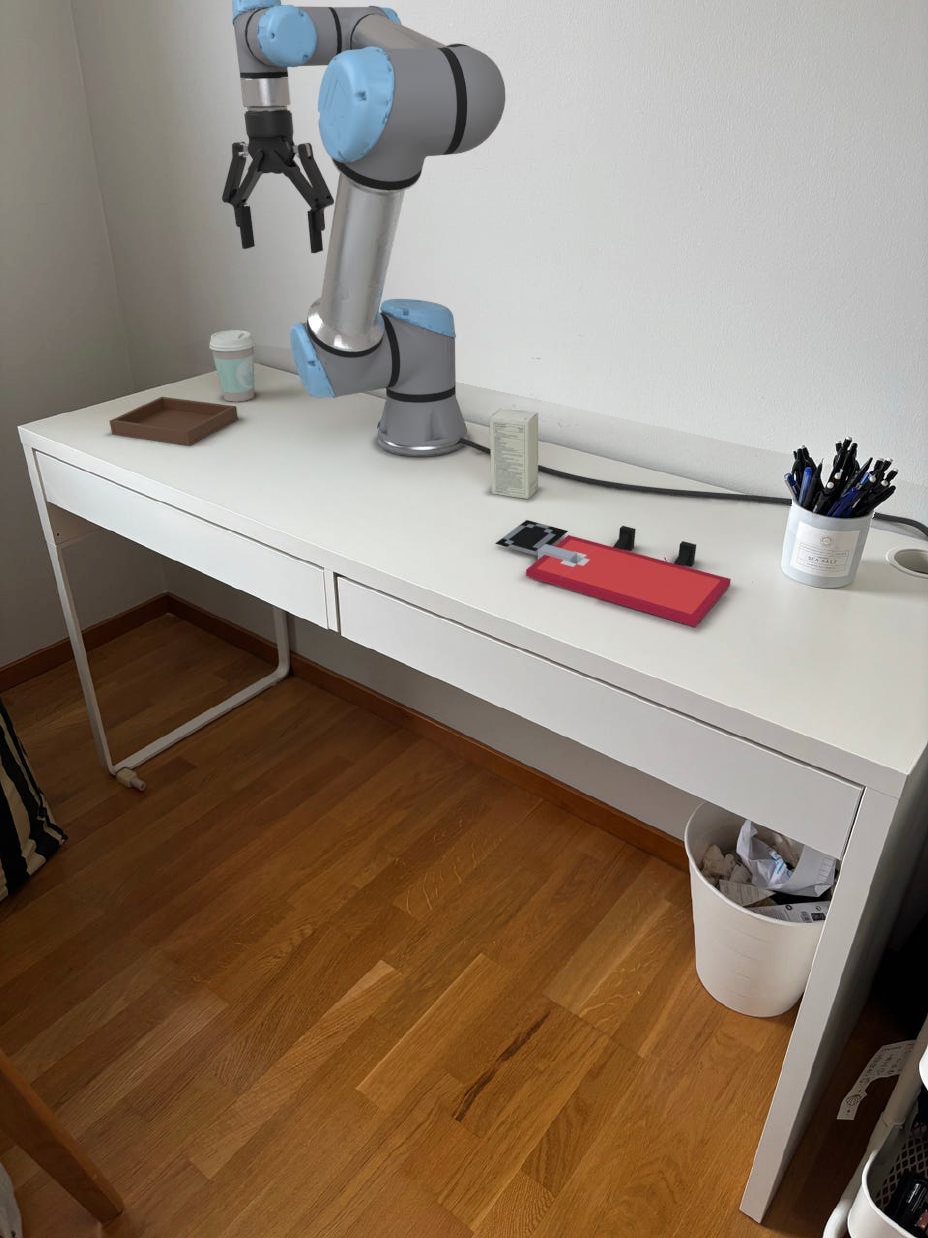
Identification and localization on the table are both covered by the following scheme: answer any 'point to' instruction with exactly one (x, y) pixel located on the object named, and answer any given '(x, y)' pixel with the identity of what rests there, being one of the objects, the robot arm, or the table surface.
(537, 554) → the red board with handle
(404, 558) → the table surface
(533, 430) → the cosmetic box
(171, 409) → the tray
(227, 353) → the coffee cup
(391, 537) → the table surface
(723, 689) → the table surface
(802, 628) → the table surface
